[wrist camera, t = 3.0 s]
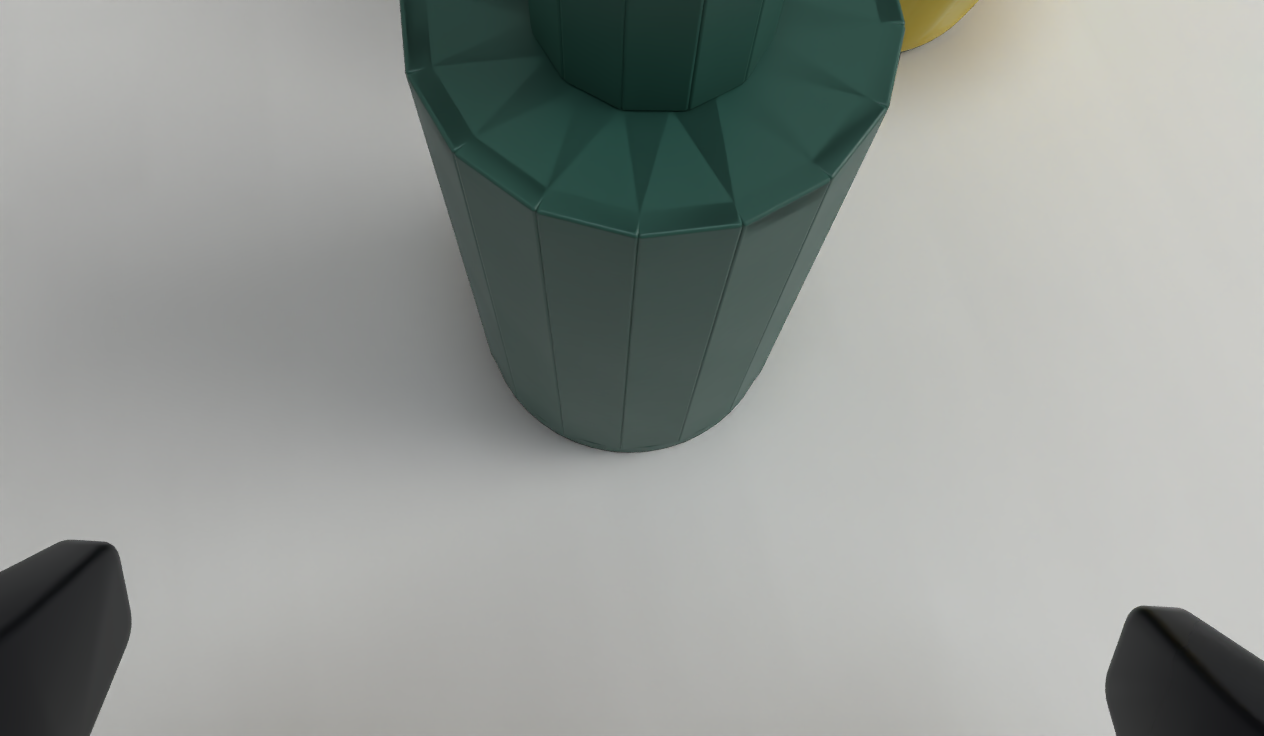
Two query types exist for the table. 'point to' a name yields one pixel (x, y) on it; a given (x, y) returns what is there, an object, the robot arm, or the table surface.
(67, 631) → the robot arm
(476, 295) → the bottle
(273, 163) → the table surface
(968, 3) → the flower pot
